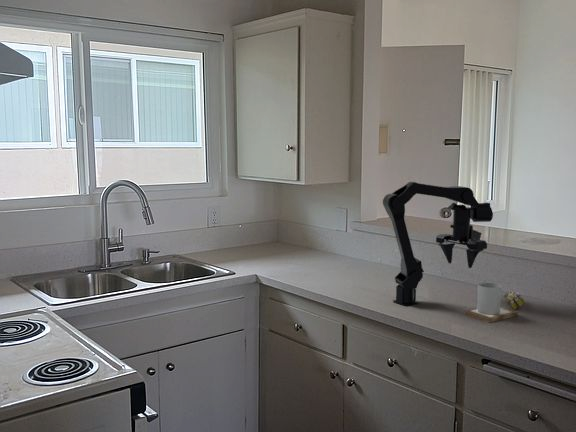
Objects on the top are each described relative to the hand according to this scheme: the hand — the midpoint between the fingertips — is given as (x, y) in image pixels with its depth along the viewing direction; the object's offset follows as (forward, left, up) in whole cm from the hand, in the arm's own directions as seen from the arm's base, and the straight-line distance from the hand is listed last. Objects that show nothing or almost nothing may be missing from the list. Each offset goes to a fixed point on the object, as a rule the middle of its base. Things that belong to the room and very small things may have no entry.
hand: (459, 265), depth 204 cm
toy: (+13, -13, -13) cm, 23 cm away
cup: (-4, -17, -12) cm, 21 cm away
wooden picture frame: (-4, -17, -13) cm, 22 cm away
